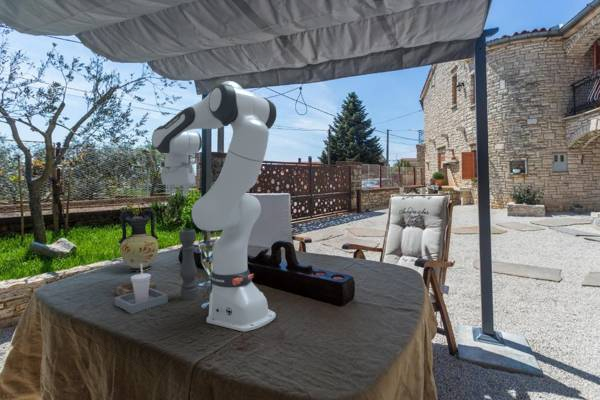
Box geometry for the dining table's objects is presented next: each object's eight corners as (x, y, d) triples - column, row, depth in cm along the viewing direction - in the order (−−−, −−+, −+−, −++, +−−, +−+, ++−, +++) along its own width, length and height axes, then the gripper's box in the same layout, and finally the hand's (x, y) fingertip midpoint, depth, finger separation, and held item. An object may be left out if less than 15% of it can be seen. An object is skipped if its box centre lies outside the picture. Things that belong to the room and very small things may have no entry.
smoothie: (155, 299, 116) (154, 261, 115) (145, 306, 110) (143, 266, 109) (139, 299, 117) (137, 261, 116) (127, 306, 110) (125, 266, 110)
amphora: (154, 263, 170) (152, 207, 168) (164, 269, 157) (161, 209, 156) (116, 269, 159) (113, 209, 157) (124, 277, 146) (121, 211, 144)
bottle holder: (156, 291, 126) (156, 284, 126) (127, 300, 118) (127, 292, 117) (143, 286, 133) (142, 279, 133) (115, 294, 124) (114, 286, 124)
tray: (167, 302, 115) (167, 294, 115) (131, 314, 105) (131, 305, 105) (150, 294, 123) (150, 287, 123) (115, 305, 113) (114, 297, 113)
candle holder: (177, 298, 119) (174, 231, 117) (189, 293, 124) (187, 229, 123) (189, 301, 116) (186, 232, 114) (201, 295, 121) (199, 230, 120)
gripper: (198, 162, 130) (199, 196, 131) (171, 164, 143) (172, 195, 144) (184, 161, 125) (185, 197, 126) (157, 163, 138) (159, 195, 139)
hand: (178, 196), depth 135 cm, fingers open, 8 cm apart
